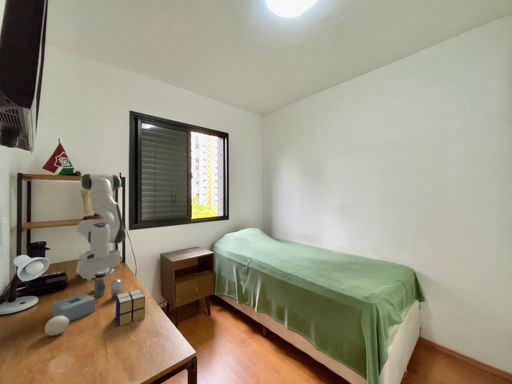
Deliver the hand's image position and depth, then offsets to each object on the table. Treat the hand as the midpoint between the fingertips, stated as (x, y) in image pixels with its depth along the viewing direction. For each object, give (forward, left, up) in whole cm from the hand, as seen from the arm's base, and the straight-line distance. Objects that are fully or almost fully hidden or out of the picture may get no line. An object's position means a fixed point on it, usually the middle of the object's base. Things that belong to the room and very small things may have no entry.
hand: (99, 277), depth 118 cm
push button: (-10, +4, -10) cm, 15 cm away
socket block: (+9, -15, -10) cm, 20 cm away
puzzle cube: (+35, -4, -10) cm, 37 cm away
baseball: (+21, -25, -10) cm, 34 cm away
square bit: (-1, 0, -10) cm, 10 cm away
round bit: (+9, +4, -10) cm, 14 cm away
